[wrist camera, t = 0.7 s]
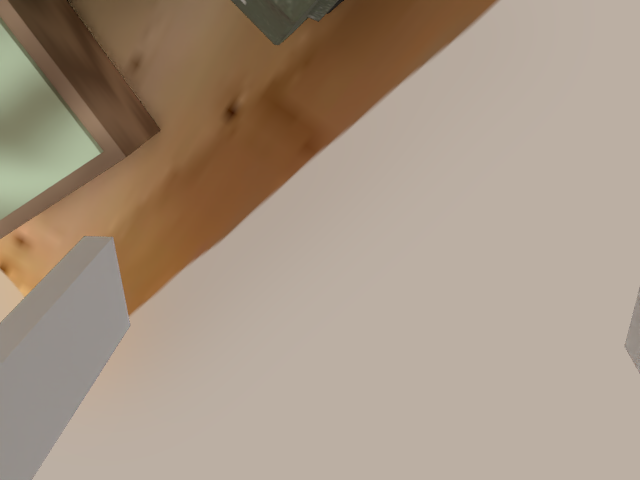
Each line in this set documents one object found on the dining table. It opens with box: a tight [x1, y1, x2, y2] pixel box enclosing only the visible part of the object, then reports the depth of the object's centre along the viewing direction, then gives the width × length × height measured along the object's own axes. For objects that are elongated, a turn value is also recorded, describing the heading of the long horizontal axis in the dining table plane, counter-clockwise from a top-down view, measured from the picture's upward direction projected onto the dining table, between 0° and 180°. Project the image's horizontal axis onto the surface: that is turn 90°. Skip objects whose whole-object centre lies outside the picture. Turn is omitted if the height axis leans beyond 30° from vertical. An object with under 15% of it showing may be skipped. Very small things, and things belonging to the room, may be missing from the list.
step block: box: [0, 0, 160, 239], centre depth 39 cm, size 12×12×6 cm
